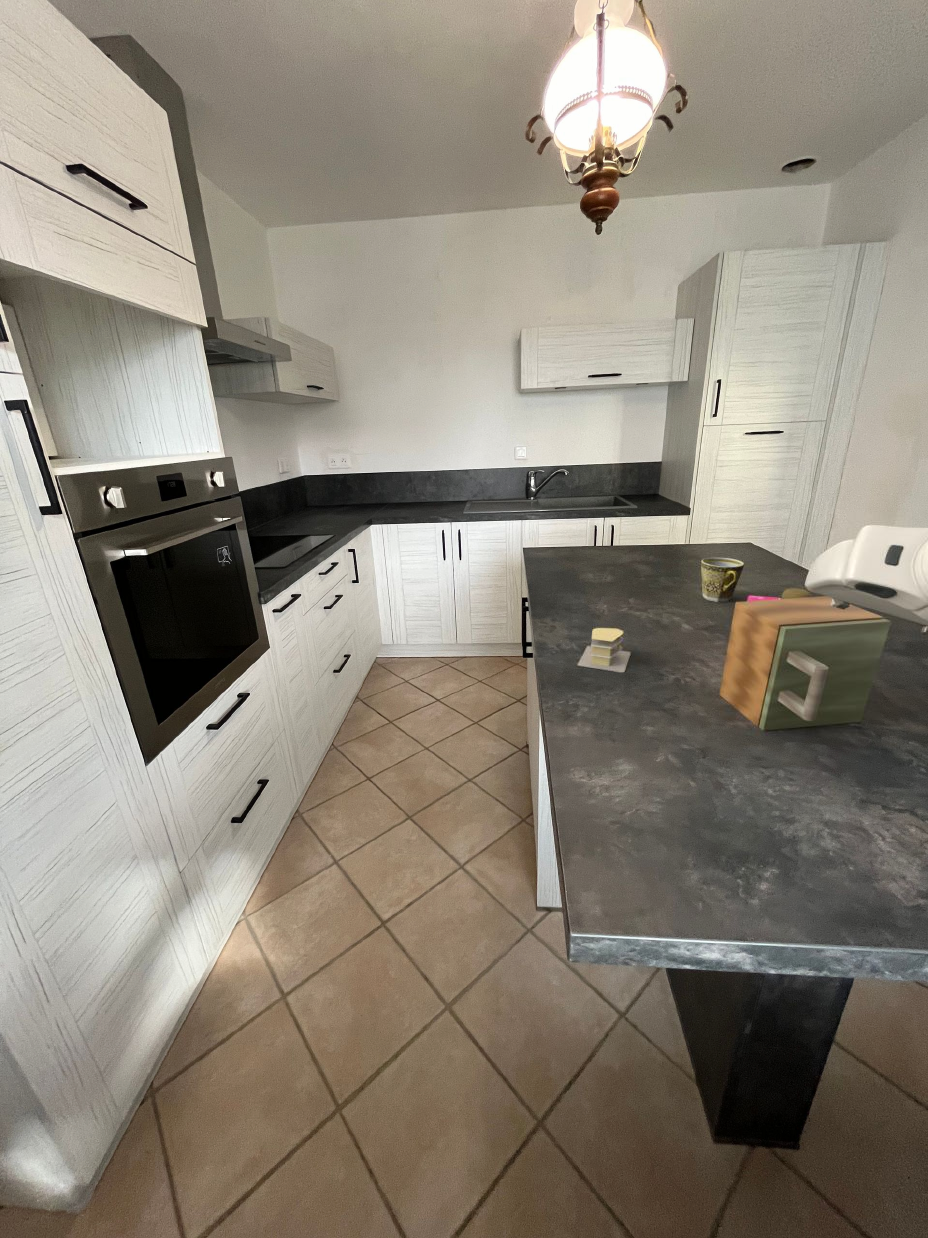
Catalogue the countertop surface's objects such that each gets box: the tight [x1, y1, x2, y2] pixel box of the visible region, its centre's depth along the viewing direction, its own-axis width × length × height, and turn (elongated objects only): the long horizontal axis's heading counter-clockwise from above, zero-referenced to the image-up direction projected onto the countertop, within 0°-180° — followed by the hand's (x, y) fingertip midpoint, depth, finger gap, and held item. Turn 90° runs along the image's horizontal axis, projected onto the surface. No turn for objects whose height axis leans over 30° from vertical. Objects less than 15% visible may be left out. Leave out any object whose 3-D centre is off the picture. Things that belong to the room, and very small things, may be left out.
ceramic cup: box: [700, 557, 745, 603], centre depth 127 cm, size 13×10×10 cm
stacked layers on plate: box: [577, 627, 632, 673], centre depth 98 cm, size 10×9×6 cm
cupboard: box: [719, 595, 885, 728], centre depth 77 cm, size 10×16×17 cm, turn 96°
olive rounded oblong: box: [781, 587, 813, 599], centre depth 103 cm, size 6×6×11 cm
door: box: [758, 618, 892, 732], centre depth 69 cm, size 7×16×17 cm, turn 96°
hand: (882, 615), depth 59 cm, fingers open, 8 cm apart
